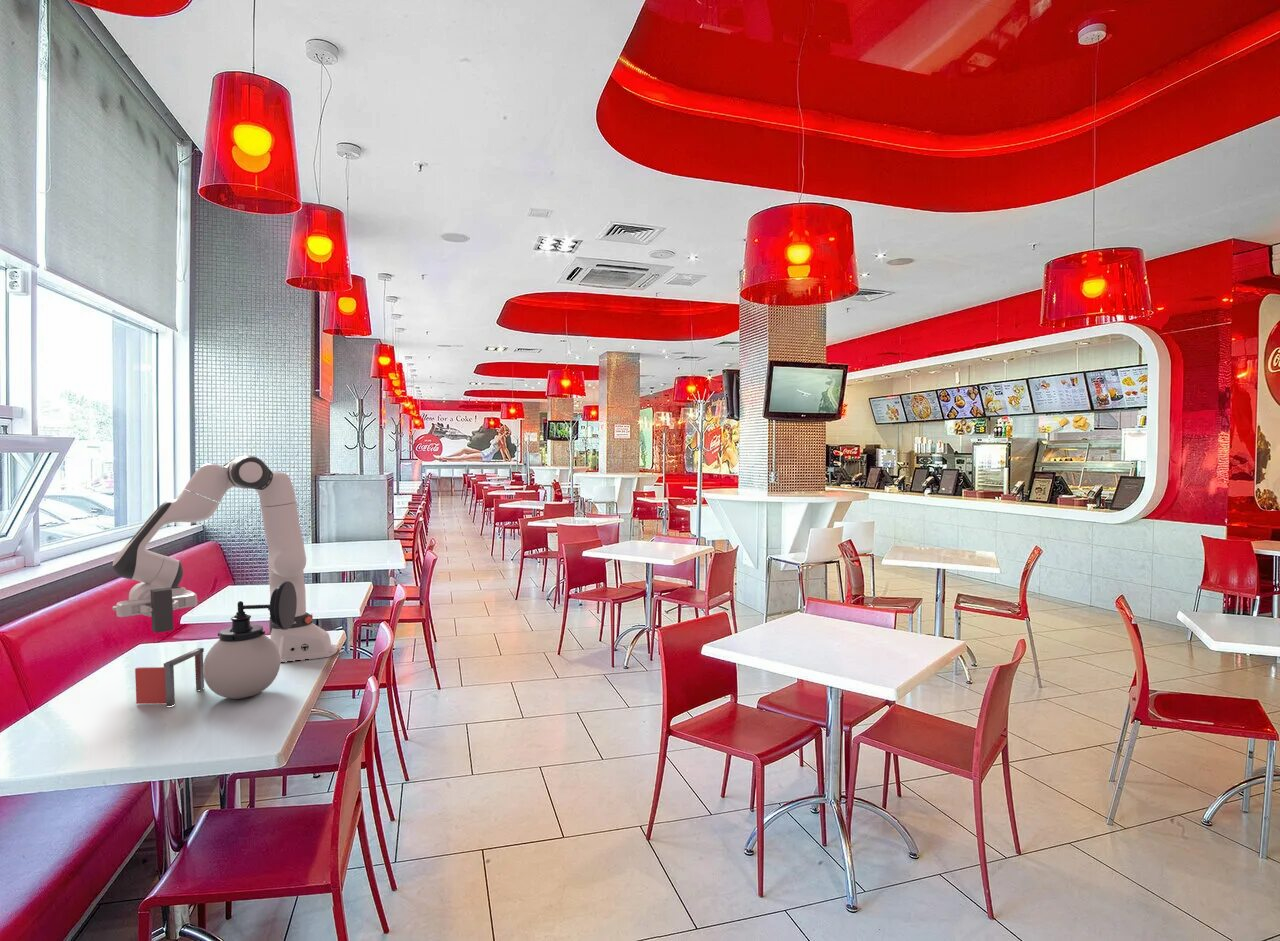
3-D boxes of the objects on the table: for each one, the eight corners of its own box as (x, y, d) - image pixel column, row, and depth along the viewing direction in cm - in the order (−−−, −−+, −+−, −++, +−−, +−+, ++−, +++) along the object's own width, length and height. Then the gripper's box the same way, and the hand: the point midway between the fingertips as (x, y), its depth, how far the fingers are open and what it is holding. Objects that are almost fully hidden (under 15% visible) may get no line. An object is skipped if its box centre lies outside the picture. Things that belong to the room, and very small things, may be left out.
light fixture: (223, 686, 219) (220, 577, 218) (303, 683, 221) (299, 575, 220) (190, 710, 200) (185, 591, 198) (277, 706, 202) (273, 588, 201)
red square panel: (173, 702, 205) (172, 667, 205) (171, 703, 204) (170, 668, 204) (138, 702, 205) (137, 667, 205) (136, 703, 204) (135, 668, 204)
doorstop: (170, 627, 215) (168, 587, 215) (173, 630, 212) (171, 589, 211) (152, 630, 212) (150, 589, 212) (155, 633, 209) (153, 591, 208)
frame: (170, 707, 202) (168, 663, 201) (165, 707, 202) (163, 663, 201) (205, 689, 217) (203, 647, 217) (200, 689, 217) (198, 647, 217)
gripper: (110, 596, 214) (118, 603, 204) (190, 586, 228) (201, 592, 218) (111, 617, 214) (119, 625, 204) (191, 605, 228) (202, 612, 218)
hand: (162, 608), depth 211 cm, fingers closed on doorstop, 4 cm apart
